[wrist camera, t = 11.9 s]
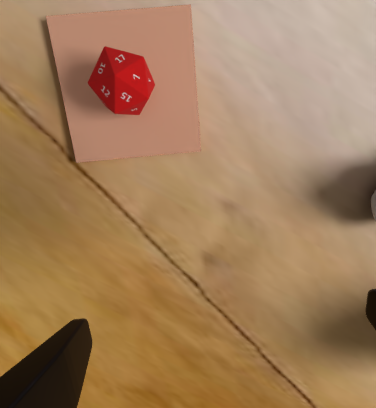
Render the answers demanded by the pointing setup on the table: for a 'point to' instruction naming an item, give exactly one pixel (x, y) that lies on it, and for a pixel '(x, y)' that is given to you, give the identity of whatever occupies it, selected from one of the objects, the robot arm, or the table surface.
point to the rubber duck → (373, 204)
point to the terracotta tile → (159, 68)
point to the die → (122, 81)
